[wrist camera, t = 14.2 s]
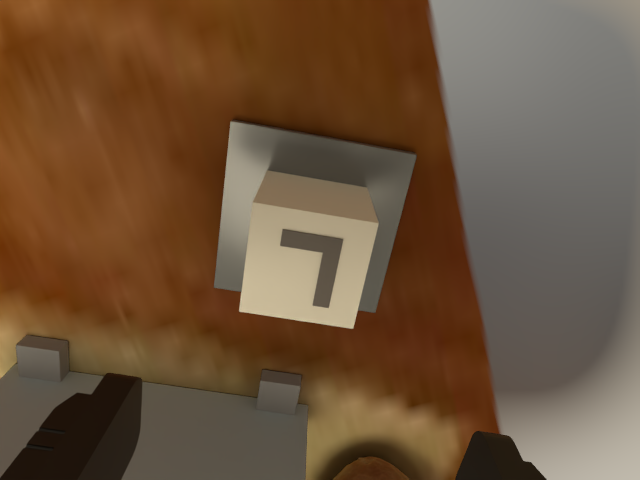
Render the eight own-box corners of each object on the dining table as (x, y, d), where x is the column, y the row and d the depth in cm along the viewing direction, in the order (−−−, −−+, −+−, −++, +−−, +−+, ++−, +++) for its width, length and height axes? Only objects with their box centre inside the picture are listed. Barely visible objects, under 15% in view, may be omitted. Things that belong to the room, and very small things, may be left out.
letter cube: (366, 187, 22) (379, 224, 18) (347, 276, 24) (353, 330, 20) (267, 170, 22) (252, 202, 17) (254, 261, 24) (238, 312, 19)
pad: (414, 152, 22) (416, 155, 22) (373, 307, 26) (375, 312, 25) (232, 119, 22) (230, 121, 21) (216, 282, 25) (213, 287, 25)
